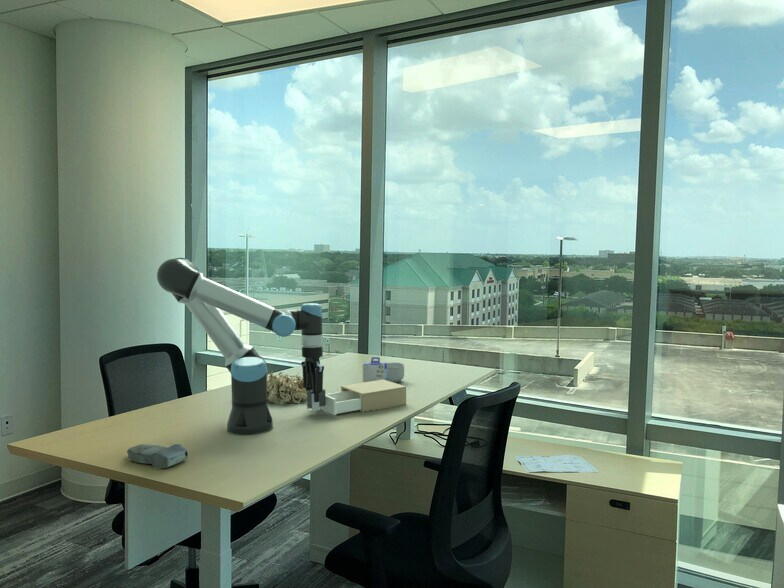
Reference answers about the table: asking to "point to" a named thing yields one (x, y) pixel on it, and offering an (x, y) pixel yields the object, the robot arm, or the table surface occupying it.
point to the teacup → (395, 372)
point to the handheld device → (157, 455)
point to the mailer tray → (337, 401)
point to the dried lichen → (285, 389)
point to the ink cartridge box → (374, 370)
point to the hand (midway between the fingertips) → (313, 409)
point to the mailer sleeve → (378, 394)
